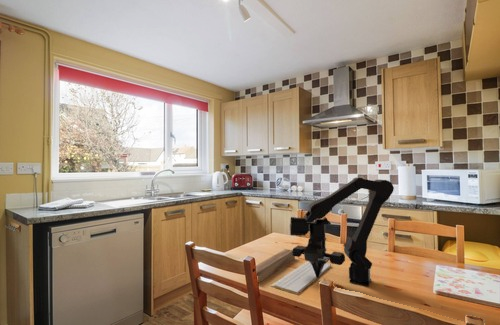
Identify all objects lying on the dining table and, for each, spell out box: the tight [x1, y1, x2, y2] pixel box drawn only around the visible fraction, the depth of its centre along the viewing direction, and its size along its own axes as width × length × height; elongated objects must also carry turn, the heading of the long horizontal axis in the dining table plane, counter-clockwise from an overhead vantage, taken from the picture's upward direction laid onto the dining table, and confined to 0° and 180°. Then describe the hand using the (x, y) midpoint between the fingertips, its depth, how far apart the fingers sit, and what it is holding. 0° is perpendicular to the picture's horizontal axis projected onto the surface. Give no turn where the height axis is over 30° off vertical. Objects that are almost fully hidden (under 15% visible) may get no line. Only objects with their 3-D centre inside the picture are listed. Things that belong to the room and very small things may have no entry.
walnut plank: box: [255, 248, 296, 284], centre depth 110 cm, size 5×32×4 cm, turn 146°
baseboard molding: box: [270, 260, 332, 295], centre depth 102 cm, size 31×3×12 cm
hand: (318, 277), depth 97 cm, fingers closed
